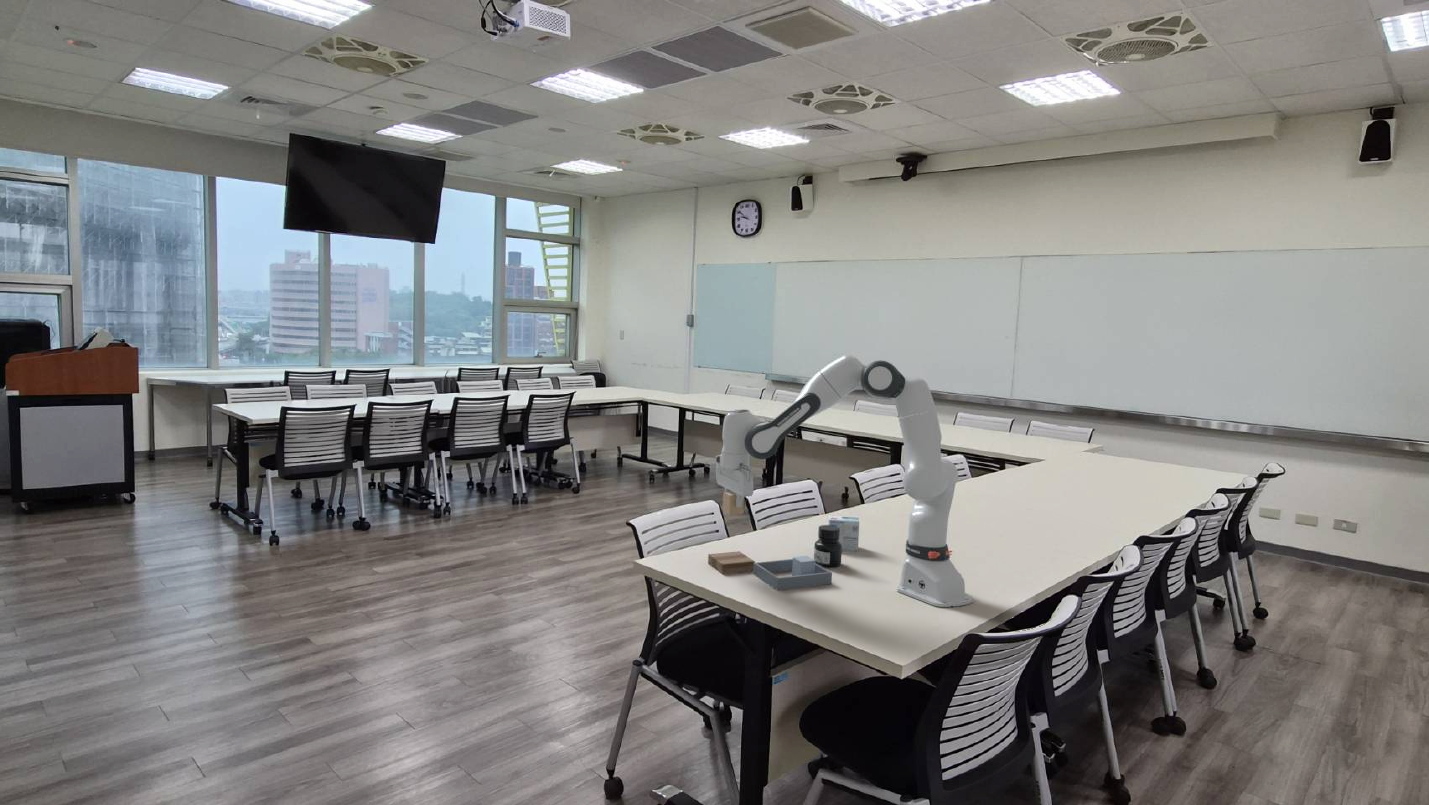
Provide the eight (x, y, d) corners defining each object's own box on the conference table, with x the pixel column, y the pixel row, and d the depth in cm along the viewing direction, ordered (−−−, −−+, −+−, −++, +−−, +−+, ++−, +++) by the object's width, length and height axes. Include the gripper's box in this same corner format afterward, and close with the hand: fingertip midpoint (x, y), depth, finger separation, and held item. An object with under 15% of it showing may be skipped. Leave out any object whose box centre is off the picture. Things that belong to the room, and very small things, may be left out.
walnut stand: (754, 570, 245) (754, 561, 245) (722, 574, 240) (722, 564, 240) (738, 560, 255) (739, 551, 255) (708, 563, 250) (708, 554, 250)
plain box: (814, 579, 239) (815, 560, 238) (800, 581, 237) (801, 562, 236) (805, 574, 243) (806, 555, 243) (791, 576, 241) (792, 557, 241)
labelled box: (743, 514, 245) (744, 494, 244) (729, 515, 242) (730, 495, 242) (736, 510, 249) (737, 491, 248) (722, 511, 247) (723, 492, 246)
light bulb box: (856, 546, 277) (858, 516, 276) (858, 551, 270) (860, 521, 269) (826, 544, 278) (828, 514, 277) (827, 549, 271) (829, 519, 270)
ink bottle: (808, 560, 258) (810, 524, 257) (831, 558, 261) (833, 523, 260) (822, 569, 249) (824, 532, 248) (846, 567, 252) (848, 530, 251)
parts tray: (831, 584, 235) (832, 572, 235) (777, 590, 228) (777, 578, 227) (804, 568, 249) (805, 557, 249) (752, 573, 242) (753, 562, 241)
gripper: (759, 466, 236) (757, 511, 237) (730, 455, 255) (729, 496, 256) (740, 467, 233) (738, 513, 235) (713, 455, 252) (711, 498, 253)
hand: (733, 504), depth 246 cm, fingers closed on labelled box, 5 cm apart
